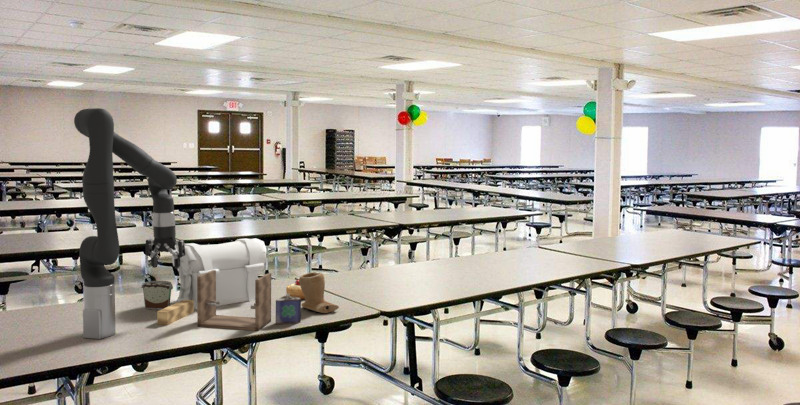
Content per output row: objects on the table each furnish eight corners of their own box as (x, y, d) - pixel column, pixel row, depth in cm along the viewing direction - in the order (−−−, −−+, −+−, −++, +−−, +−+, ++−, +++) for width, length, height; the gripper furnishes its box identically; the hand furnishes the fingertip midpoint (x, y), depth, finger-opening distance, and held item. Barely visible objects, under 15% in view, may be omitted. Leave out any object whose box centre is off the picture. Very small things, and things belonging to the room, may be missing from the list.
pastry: (304, 293, 270) (305, 273, 270) (319, 298, 261) (319, 278, 261) (280, 296, 262) (281, 276, 262) (294, 301, 253) (295, 280, 253)
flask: (275, 324, 220) (276, 295, 220) (274, 322, 223) (275, 293, 222) (301, 322, 223) (301, 294, 222) (300, 320, 226) (300, 292, 225)
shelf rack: (258, 330, 212) (258, 280, 211) (197, 326, 216) (197, 276, 214) (271, 321, 224) (271, 273, 223) (213, 317, 228) (212, 270, 226)
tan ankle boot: (293, 308, 243) (293, 271, 242) (318, 304, 251) (319, 268, 249) (313, 316, 232) (314, 278, 230) (339, 312, 239) (340, 274, 238)
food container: (178, 305, 243) (178, 281, 242) (171, 309, 237) (171, 284, 236) (149, 304, 244) (149, 279, 243) (141, 308, 238) (141, 283, 237)
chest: (245, 289, 274) (245, 234, 272) (272, 299, 257) (272, 241, 255) (168, 301, 250) (168, 241, 248) (192, 312, 234) (191, 249, 231)
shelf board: (167, 326, 217) (167, 312, 216) (157, 325, 217) (157, 311, 217) (193, 312, 234) (193, 300, 234) (184, 312, 235) (184, 299, 235)
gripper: (140, 225, 219) (142, 269, 221) (177, 226, 217) (179, 270, 219) (151, 222, 226) (153, 264, 228) (187, 223, 224) (189, 266, 226)
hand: (166, 267), depth 223 cm, fingers open, 8 cm apart
